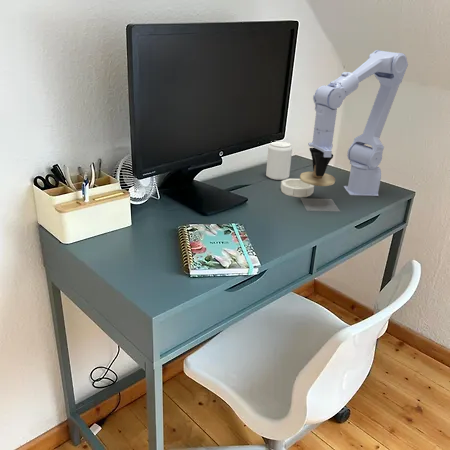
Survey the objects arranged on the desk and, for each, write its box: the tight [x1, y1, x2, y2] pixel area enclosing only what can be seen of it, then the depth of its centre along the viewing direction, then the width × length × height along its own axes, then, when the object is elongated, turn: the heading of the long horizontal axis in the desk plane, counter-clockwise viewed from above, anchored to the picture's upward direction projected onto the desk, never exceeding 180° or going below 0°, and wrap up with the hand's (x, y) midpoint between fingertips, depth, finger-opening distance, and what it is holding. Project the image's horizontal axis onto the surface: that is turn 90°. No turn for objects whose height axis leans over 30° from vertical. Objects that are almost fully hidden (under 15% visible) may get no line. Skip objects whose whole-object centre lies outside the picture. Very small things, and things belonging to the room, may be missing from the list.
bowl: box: [280, 177, 315, 198], centre depth 160 cm, size 10×10×3 cm
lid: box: [299, 165, 336, 187], centre depth 149 cm, size 10×10×4 cm
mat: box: [299, 197, 341, 212], centre depth 151 cm, size 10×10×1 cm
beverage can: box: [265, 140, 293, 181], centre depth 171 cm, size 8×8×12 cm
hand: (318, 173), depth 149 cm, fingers closed on lid, 3 cm apart
